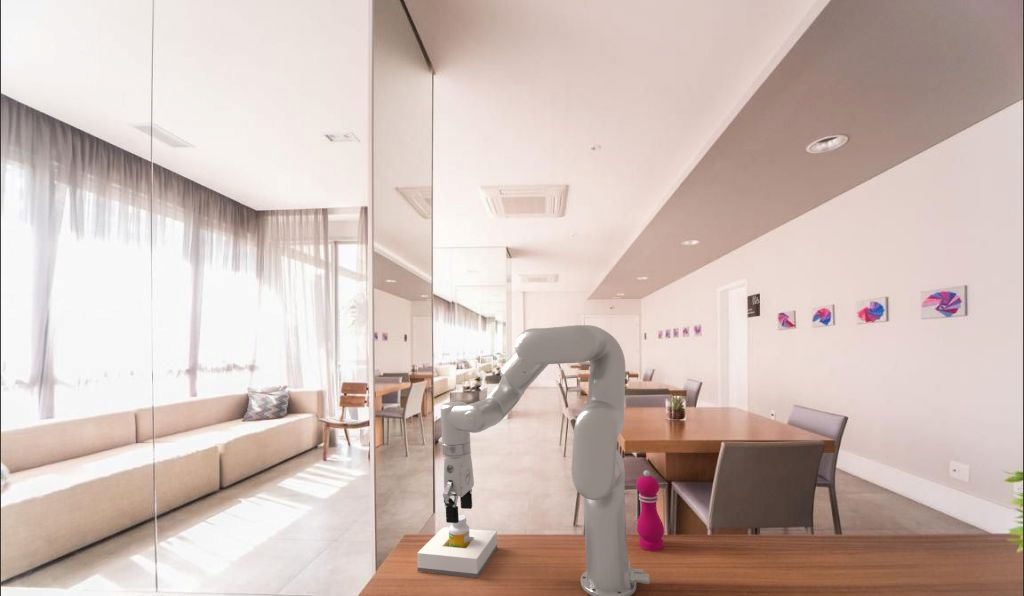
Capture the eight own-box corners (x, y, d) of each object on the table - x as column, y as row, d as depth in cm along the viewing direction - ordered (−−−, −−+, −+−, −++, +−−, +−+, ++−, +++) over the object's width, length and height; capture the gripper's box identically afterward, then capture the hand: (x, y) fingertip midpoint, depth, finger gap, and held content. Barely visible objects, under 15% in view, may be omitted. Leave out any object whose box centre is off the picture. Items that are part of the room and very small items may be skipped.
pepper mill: (667, 553, 119) (661, 474, 121) (638, 551, 121) (633, 473, 123) (663, 540, 127) (658, 466, 128) (636, 539, 128) (632, 466, 130)
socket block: (497, 548, 126) (496, 531, 126) (477, 578, 111) (476, 558, 111) (443, 543, 130) (443, 526, 131) (417, 571, 115) (417, 552, 115)
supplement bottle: (445, 558, 119) (444, 519, 120) (457, 549, 124) (456, 512, 125) (462, 562, 117) (461, 522, 118) (473, 553, 122) (472, 515, 122)
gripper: (457, 457, 114) (460, 529, 112) (480, 441, 130) (483, 503, 129) (429, 457, 115) (432, 527, 114) (456, 441, 132) (459, 503, 130)
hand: (459, 515), depth 121 cm, fingers open, 9 cm apart
